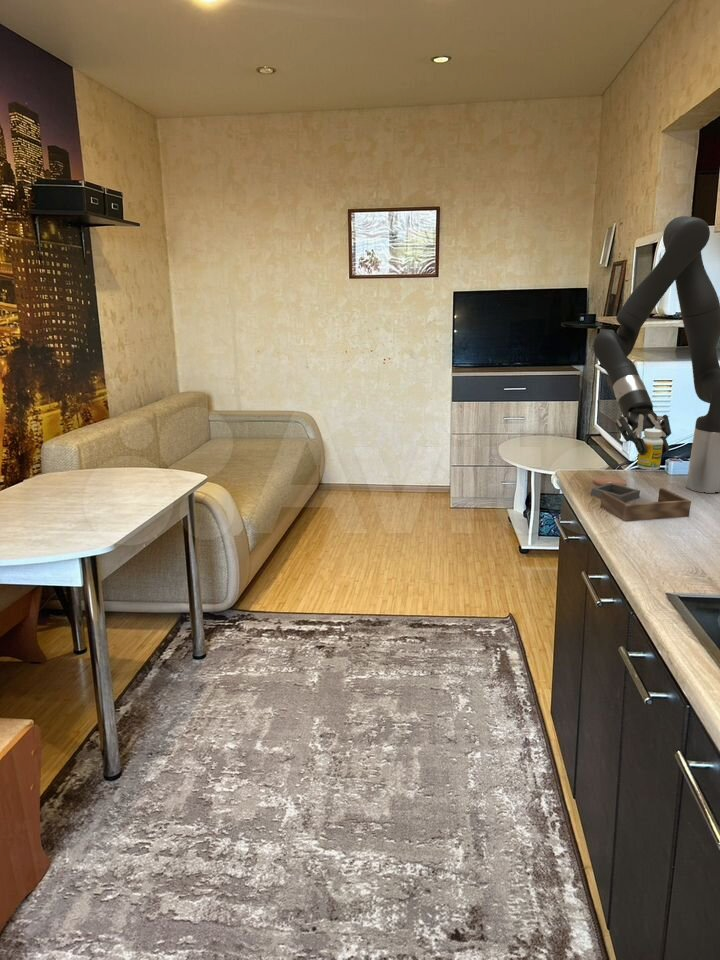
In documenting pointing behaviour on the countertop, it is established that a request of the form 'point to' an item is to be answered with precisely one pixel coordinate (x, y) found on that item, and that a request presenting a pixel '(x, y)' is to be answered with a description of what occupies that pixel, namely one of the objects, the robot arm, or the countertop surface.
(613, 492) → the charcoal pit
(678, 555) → the countertop surface
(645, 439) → the supplement bottle
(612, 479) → the tan round disc
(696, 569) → the countertop surface
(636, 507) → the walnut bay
